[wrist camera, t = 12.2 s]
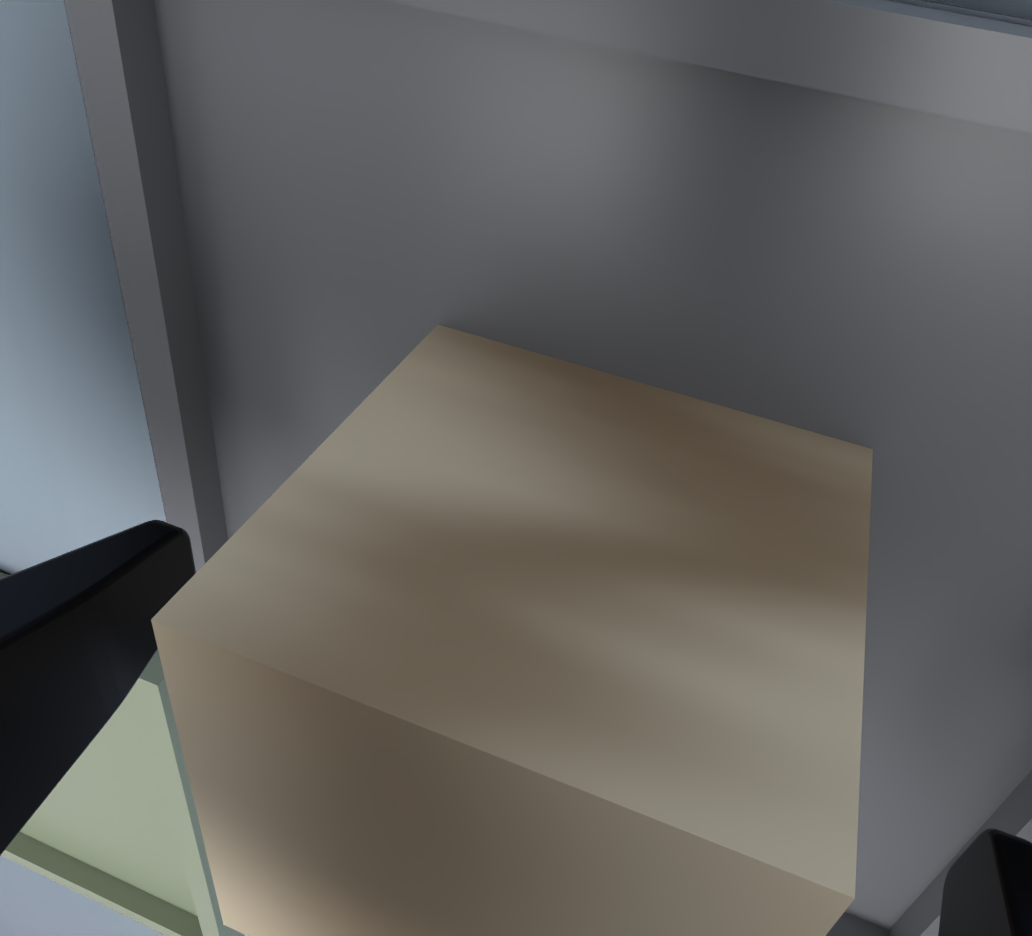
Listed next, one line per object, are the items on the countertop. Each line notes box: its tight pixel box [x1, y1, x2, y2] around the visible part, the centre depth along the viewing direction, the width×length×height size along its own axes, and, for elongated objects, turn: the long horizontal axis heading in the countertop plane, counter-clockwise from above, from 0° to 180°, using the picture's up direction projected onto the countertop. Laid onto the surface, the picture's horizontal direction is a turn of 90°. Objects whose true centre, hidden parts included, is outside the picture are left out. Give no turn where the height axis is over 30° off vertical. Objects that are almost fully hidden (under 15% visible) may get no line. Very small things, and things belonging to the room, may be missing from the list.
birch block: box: [151, 325, 873, 936], centre depth 9 cm, size 5×5×5 cm
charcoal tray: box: [64, 0, 1032, 936], centre depth 11 cm, size 13×13×1 cm
